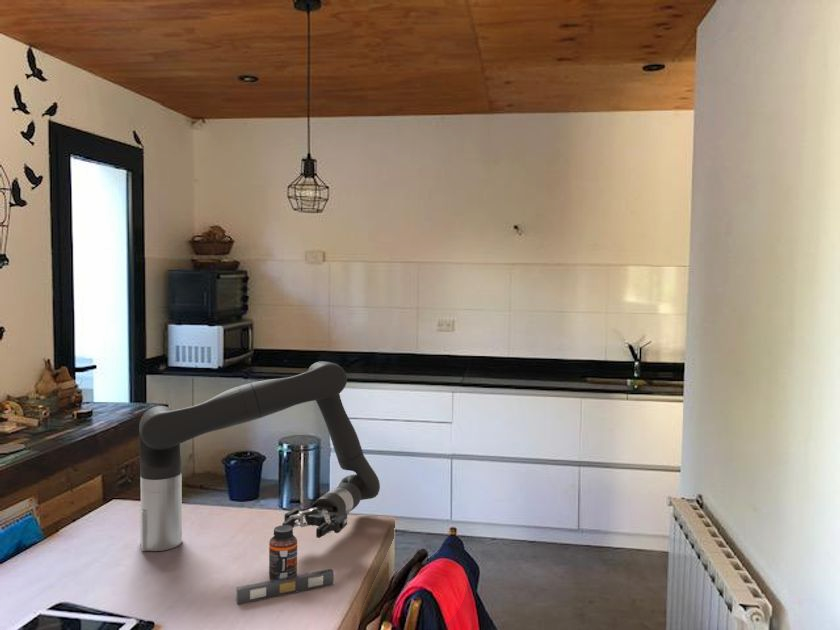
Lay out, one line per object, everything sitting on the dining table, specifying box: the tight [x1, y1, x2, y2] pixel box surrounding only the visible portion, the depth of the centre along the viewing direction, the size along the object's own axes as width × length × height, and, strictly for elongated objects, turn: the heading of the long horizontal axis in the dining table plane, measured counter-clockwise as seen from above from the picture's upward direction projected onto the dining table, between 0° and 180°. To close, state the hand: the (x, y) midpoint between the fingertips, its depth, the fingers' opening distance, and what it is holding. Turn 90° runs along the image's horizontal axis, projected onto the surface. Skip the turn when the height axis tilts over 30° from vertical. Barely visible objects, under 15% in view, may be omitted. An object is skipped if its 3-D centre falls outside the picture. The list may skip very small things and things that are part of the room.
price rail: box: [236, 568, 335, 605], centre depth 135 cm, size 20×2×3 cm, turn 116°
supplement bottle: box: [268, 524, 298, 581], centre depth 141 cm, size 6×6×11 cm
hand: (300, 531), depth 147 cm, fingers open, 8 cm apart
